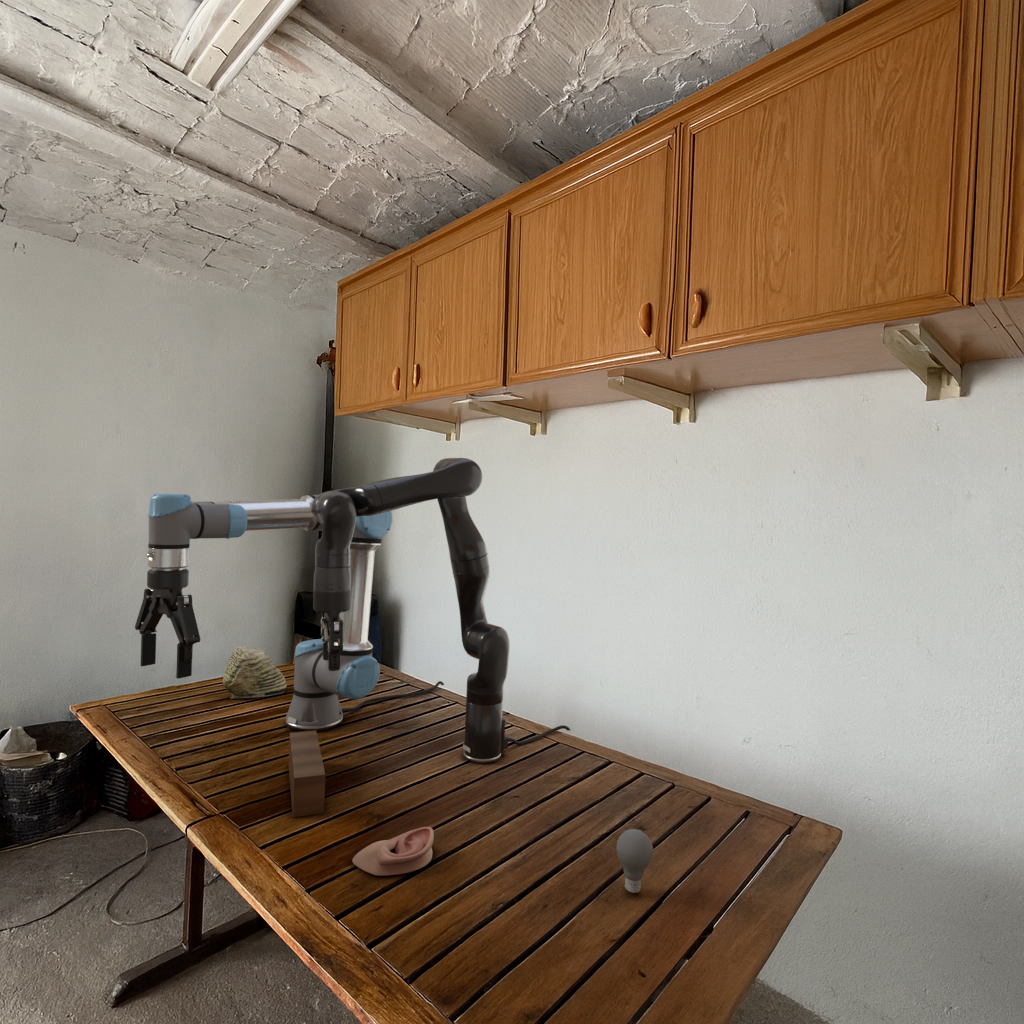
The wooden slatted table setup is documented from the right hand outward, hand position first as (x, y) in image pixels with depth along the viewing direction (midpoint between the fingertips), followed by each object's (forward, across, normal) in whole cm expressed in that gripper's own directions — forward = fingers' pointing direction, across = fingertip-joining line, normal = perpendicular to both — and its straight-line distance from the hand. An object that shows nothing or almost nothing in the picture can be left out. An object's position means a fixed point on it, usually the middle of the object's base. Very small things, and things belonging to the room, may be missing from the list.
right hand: (331, 664), depth 132 cm
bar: (+28, +7, +4) cm, 29 cm away
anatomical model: (+28, -27, -8) cm, 40 cm away
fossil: (+29, +76, +12) cm, 82 cm away
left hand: (+2, +12, +32) cm, 34 cm away
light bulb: (+29, -49, -43) cm, 71 cm away
